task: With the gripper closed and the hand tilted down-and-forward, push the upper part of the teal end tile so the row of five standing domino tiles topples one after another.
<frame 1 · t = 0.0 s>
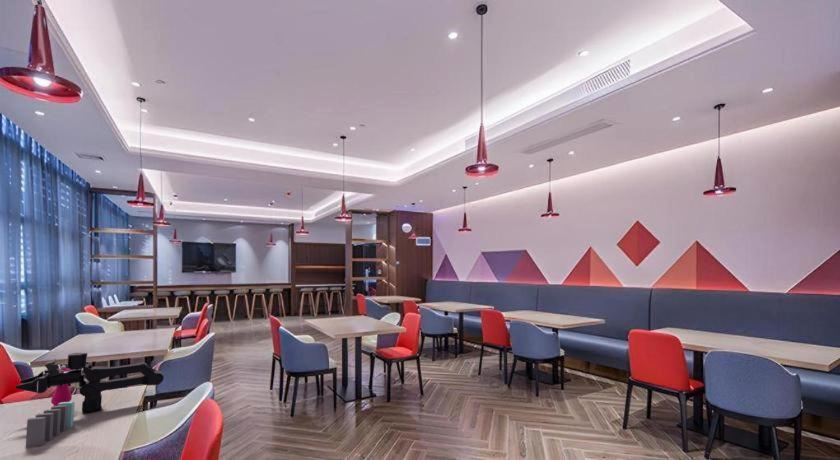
hand: (18, 384, 171), 17 cm above the table, tool horizontal, fingers open, 9 cm apart
domino 2: (58, 431, 162), on the table
pepper mill: (61, 409, 187), on the table
domino 5: (35, 445, 150), on the table
domino 3: (50, 436, 158), on the table
domino 1: (65, 427, 166), on the table
domino 4: (43, 440, 154), on the table
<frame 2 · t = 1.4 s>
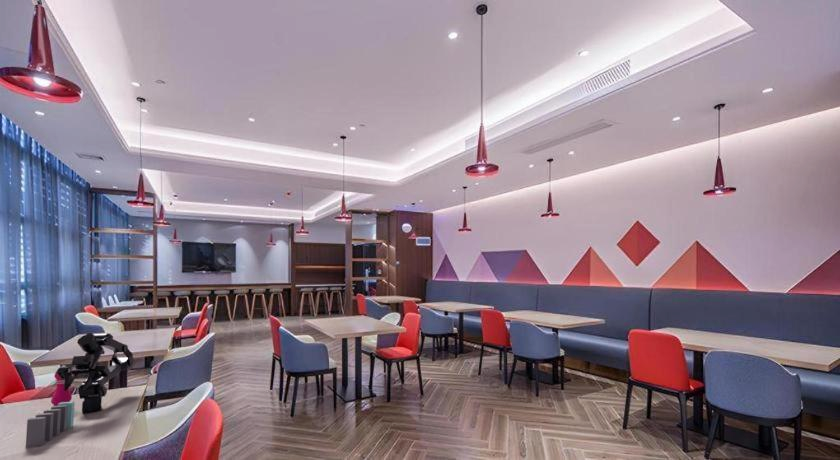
hand: (74, 389, 172), 14 cm above the table, tool tilted 45°, fingers open, 7 cm apart
nothing on the table moved.
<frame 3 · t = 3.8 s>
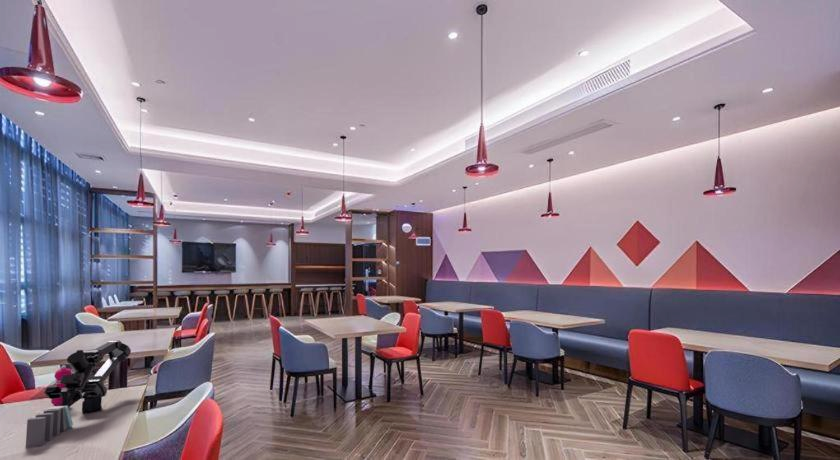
hand: (62, 410, 165), 7 cm above the table, tool tilted 45°, fingers closed
domino 2: (58, 431, 162), on the table, tilted 9°
domino 1: (64, 426, 166), on the table, tilted 24°
everything else where it was.
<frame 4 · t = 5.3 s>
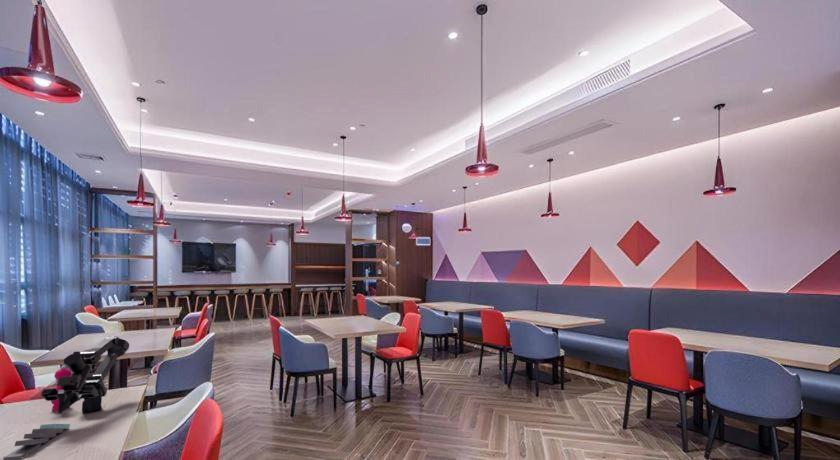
hand: (59, 413, 163), 7 cm above the table, tool tilted 45°, fingers closed
domino 2: (55, 431, 160), point 1 cm above the table, tilted 68°, touching domino 1, domino 3
domino 5: (32, 446, 148), on the table, tilted 90°, touching domino 4
domino 3: (48, 435, 156), point 1 cm above the table, tilted 68°, touching domino 2, domino 4
domino 1: (62, 426, 165), point 1 cm above the table, tilted 68°, touching domino 2
domino 4: (40, 440, 152), point 1 cm above the table, tilted 72°, touching domino 3, domino 5
everything else where it was.
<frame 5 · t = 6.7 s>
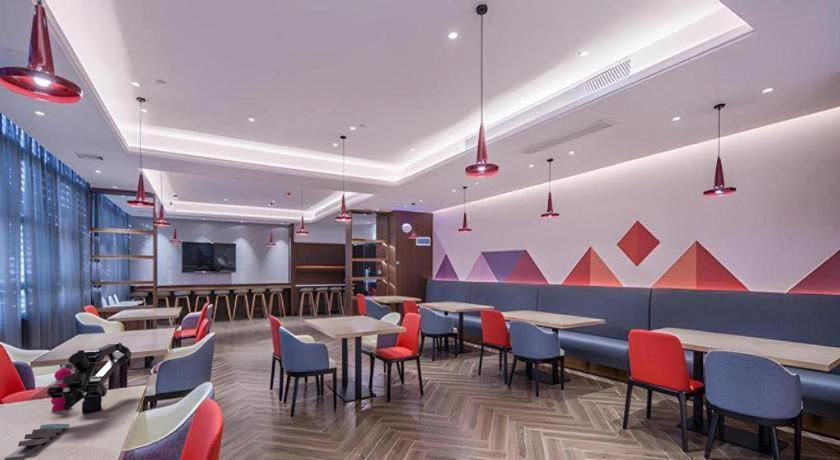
hand: (65, 410, 166), 7 cm above the table, tool tilted 45°, fingers closed
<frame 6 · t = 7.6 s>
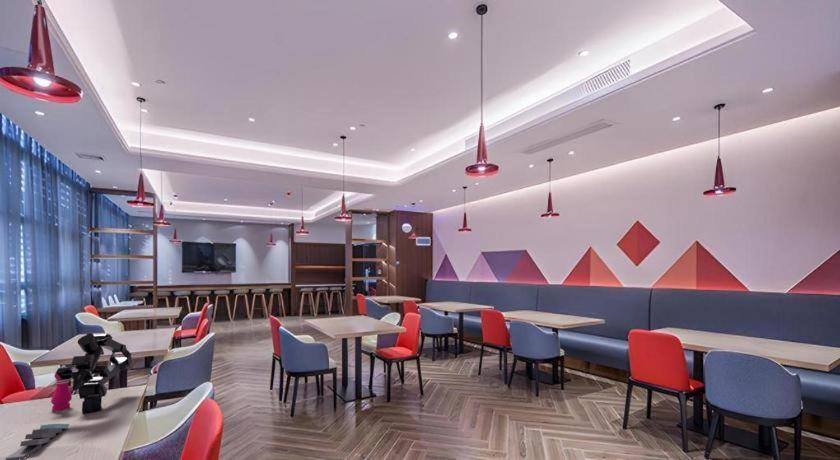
hand: (74, 390, 171), 14 cm above the table, tool tilted 45°, fingers closed
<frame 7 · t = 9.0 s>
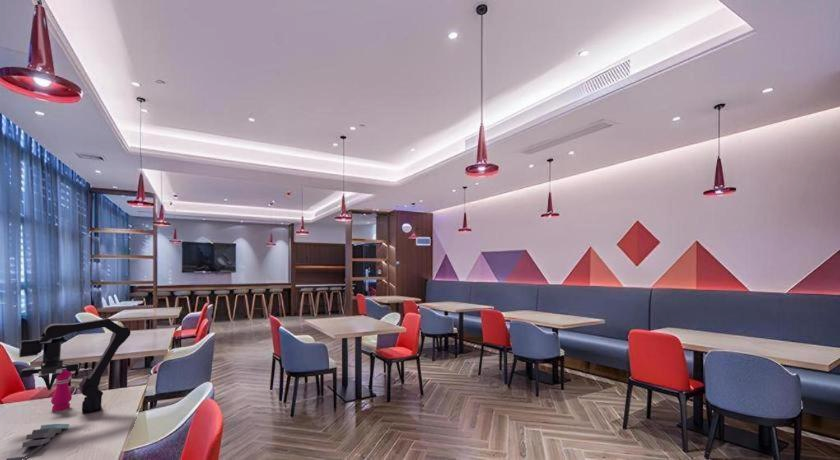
hand: (49, 389, 174), 13 cm above the table, tool pointing down, fingers closed
domino 2: (53, 431, 160), point 1 cm above the table, tilted 69°, touching domino 3
domino 3: (46, 436, 156), point 1 cm above the table, tilted 69°, touching domino 2, domino 4
domino 1: (61, 426, 165), point 1 cm above the table, tilted 69°
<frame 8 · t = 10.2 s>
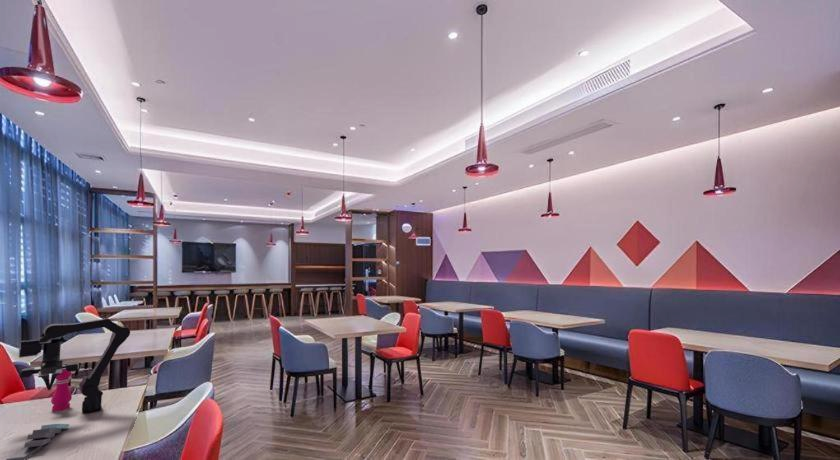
hand: (49, 389, 174), 13 cm above the table, tool pointing down, fingers closed
domino 2: (53, 431, 160), point 1 cm above the table, tilted 69°, touching domino 1, domino 3
domino 1: (61, 427, 164), point 1 cm above the table, tilted 69°, touching domino 2
at the end: domino 5 tilted 90°; domino 1 tilted 69° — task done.
